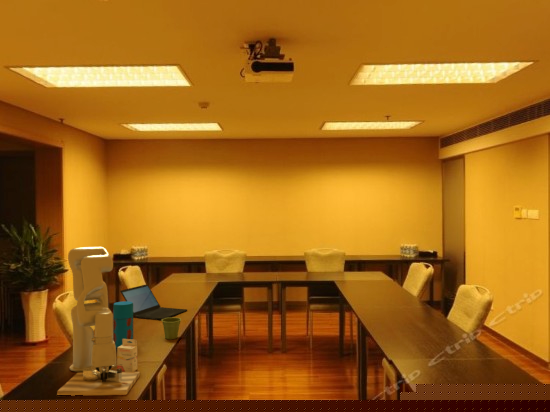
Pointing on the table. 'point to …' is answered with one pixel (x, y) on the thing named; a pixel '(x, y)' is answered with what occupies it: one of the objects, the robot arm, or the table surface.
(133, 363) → the ink cartridge box
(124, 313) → the thermos
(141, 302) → the laptop
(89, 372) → the small saucepan
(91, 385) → the base plate
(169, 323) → the plant pot
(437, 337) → the table surface
